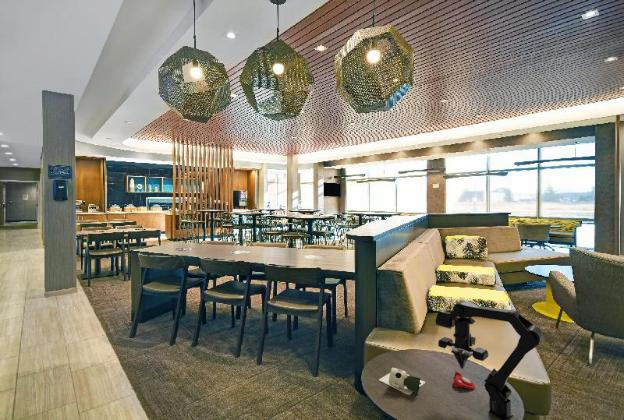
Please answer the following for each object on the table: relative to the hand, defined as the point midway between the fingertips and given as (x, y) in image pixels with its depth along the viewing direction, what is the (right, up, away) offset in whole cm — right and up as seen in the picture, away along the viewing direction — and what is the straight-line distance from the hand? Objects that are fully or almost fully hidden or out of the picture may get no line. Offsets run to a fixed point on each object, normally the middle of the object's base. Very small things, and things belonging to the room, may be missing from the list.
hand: (462, 368), depth 137 cm
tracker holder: (+6, -13, +12) cm, 19 cm away
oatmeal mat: (-22, -13, +14) cm, 29 cm away
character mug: (-16, -10, +5) cm, 19 cm away
